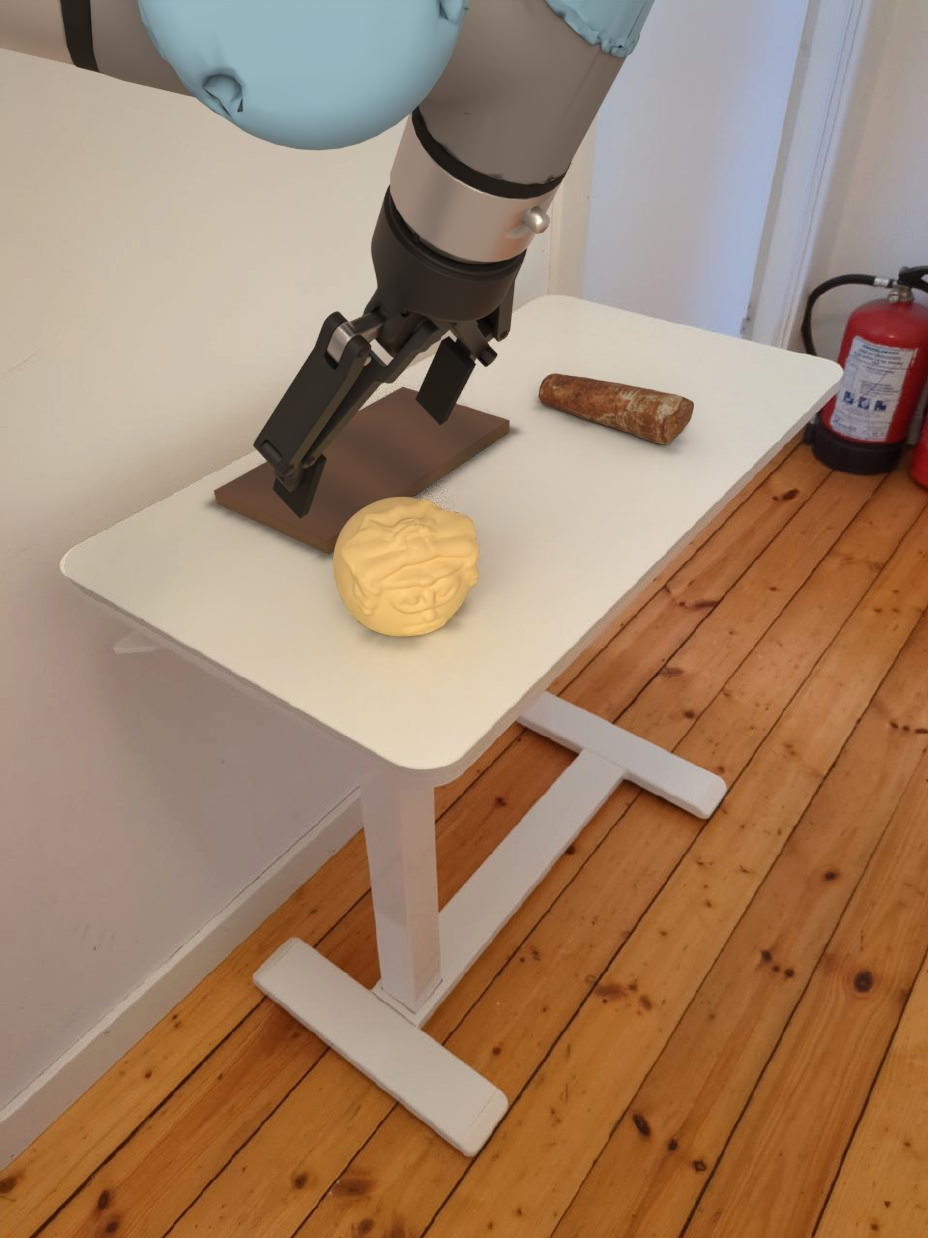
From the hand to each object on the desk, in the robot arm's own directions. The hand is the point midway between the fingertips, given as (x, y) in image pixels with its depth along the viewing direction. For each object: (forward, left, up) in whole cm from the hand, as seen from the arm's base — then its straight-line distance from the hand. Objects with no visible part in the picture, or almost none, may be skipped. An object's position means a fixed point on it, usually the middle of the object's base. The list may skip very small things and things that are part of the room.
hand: (364, 453), depth 62 cm
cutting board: (+4, +31, -18) cm, 36 cm away
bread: (+32, +32, -18) cm, 49 cm away
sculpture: (+3, +4, -18) cm, 19 cm away
